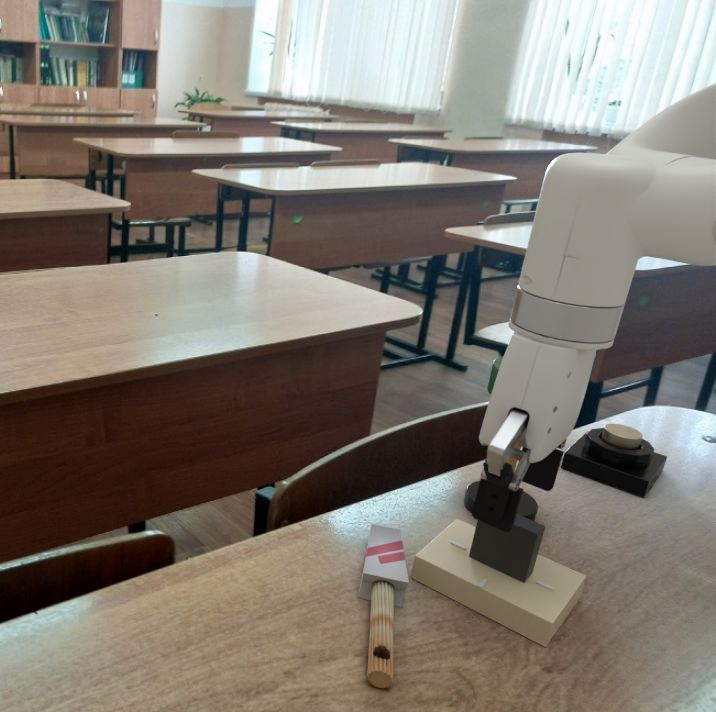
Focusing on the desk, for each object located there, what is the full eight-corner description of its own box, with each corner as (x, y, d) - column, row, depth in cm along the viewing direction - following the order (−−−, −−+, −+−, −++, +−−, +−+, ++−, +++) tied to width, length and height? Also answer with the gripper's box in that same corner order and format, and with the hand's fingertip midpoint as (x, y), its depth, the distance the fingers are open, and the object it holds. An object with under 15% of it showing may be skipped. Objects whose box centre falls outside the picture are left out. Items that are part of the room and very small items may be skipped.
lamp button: (642, 444, 88) (646, 431, 88) (633, 455, 85) (637, 441, 85) (605, 433, 91) (609, 420, 90) (596, 442, 88) (600, 429, 87)
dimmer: (580, 598, 66) (587, 573, 65) (545, 648, 60) (552, 622, 59) (452, 539, 74) (457, 516, 73) (409, 578, 68) (414, 554, 67)
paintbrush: (409, 518, 71) (408, 672, 54) (404, 541, 72) (401, 699, 55) (368, 510, 72) (354, 659, 55) (364, 532, 73) (349, 686, 56)
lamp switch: (662, 472, 90) (671, 443, 88) (643, 498, 83) (653, 467, 82) (583, 445, 95) (590, 417, 94) (560, 467, 89) (568, 438, 88)
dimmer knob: (532, 573, 65) (546, 523, 63) (524, 583, 64) (538, 532, 62) (477, 547, 68) (489, 499, 66) (468, 556, 67) (480, 507, 65)
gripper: (550, 288, 66) (507, 456, 72) (471, 324, 54) (427, 521, 60) (645, 309, 61) (589, 487, 67) (581, 353, 49) (521, 564, 55)
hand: (513, 503), depth 64 cm, fingers open, 9 cm apart
